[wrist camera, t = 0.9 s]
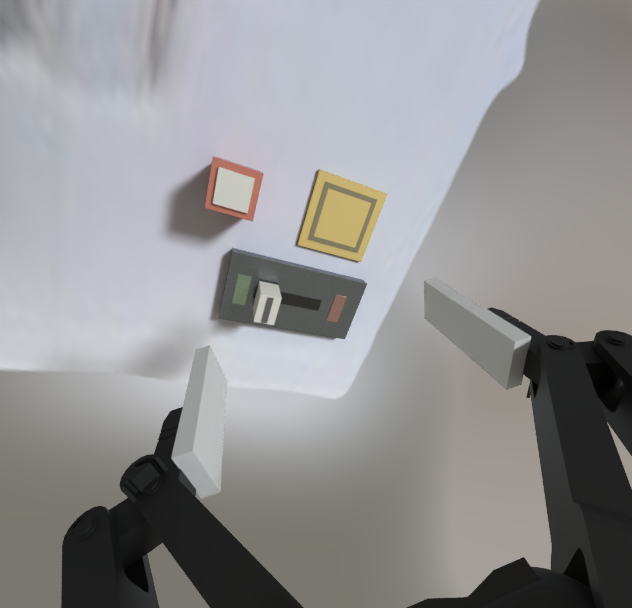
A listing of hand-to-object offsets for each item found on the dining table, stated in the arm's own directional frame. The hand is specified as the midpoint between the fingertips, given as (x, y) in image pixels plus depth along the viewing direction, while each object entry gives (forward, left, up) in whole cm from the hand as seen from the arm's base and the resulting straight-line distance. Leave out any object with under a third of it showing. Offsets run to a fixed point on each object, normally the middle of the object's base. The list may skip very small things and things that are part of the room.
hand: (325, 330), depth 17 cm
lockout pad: (+6, +5, -21) cm, 23 cm away
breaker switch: (-1, -7, -20) cm, 21 cm away
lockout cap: (-7, +5, -21) cm, 23 cm away
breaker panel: (+3, -7, -21) cm, 23 cm away
